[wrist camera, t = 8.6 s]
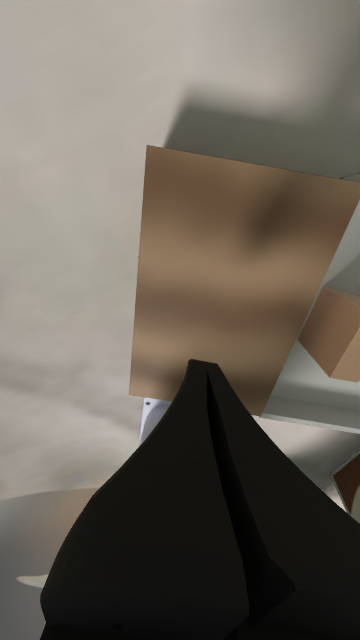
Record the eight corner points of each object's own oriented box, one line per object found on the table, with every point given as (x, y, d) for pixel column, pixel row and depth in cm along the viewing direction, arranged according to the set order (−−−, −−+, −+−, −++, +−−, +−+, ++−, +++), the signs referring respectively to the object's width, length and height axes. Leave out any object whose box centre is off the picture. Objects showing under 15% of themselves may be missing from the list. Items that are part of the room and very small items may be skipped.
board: (251, 387, 23) (260, 416, 19) (138, 369, 22) (128, 394, 19) (329, 191, 15) (366, 184, 12) (157, 161, 15) (146, 144, 11)
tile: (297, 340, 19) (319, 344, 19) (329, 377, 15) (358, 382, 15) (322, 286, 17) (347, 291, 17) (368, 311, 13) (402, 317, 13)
